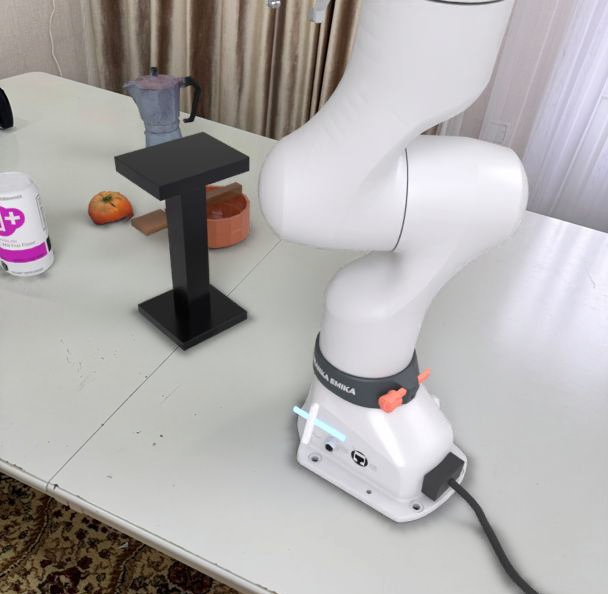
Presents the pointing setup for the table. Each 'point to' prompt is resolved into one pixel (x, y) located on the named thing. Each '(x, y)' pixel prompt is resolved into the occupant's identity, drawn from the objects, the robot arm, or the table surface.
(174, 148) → the black plant stand
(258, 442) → the table surface
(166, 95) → the moka pot
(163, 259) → the table surface
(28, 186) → the supplement can
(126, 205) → the tomato
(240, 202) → the bowl
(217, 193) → the wooden spatula
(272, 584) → the table surface
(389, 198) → the robot arm
